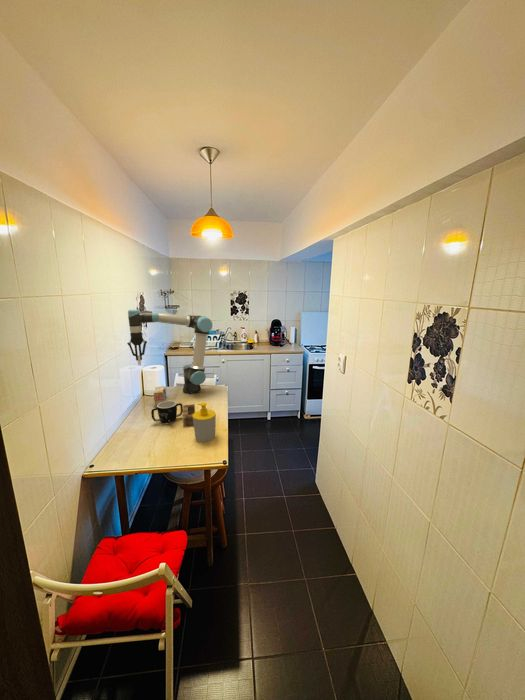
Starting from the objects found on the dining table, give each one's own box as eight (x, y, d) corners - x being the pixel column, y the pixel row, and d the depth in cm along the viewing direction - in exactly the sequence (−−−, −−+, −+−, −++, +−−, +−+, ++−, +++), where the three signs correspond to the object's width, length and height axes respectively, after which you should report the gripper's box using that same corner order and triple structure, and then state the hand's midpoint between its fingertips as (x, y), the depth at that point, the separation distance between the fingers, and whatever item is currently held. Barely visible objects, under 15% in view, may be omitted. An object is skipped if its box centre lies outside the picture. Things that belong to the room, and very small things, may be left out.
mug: (149, 424, 177) (147, 407, 175) (166, 414, 192) (165, 397, 189) (170, 428, 171) (168, 410, 169) (186, 417, 186) (184, 401, 184)
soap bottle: (202, 430, 169) (200, 397, 164) (220, 434, 164) (219, 400, 160) (189, 441, 157) (186, 406, 153) (209, 445, 152) (207, 409, 148)
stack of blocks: (158, 397, 222) (157, 383, 219) (166, 396, 223) (165, 382, 221) (155, 408, 201) (153, 392, 199) (164, 407, 203) (162, 391, 200)
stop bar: (183, 413, 193) (183, 405, 191) (194, 412, 194) (194, 404, 193) (183, 426, 174) (182, 418, 172) (195, 425, 176) (195, 416, 174)
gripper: (145, 330, 198) (148, 362, 203) (125, 332, 192) (129, 364, 197) (146, 331, 192) (150, 364, 197) (126, 333, 185) (130, 367, 191)
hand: (139, 364), depth 197 cm, fingers closed
